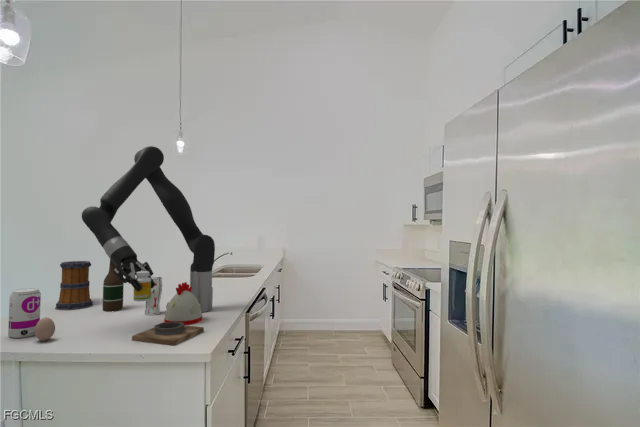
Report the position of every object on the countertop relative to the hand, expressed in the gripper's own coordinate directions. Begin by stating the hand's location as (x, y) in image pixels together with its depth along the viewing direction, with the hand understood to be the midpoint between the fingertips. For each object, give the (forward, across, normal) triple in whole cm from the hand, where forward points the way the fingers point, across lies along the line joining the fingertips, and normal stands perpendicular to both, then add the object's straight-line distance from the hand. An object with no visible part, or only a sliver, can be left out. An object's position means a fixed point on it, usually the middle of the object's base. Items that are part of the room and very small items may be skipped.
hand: (146, 288), depth 126 cm
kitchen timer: (+12, +19, +11) cm, 25 cm away
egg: (-7, -16, +29) cm, 34 cm away
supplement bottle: (+2, 0, +4) cm, 5 cm away
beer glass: (-2, +24, +25) cm, 34 cm away
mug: (-32, +24, +55) cm, 68 cm away
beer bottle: (-17, +24, +40) cm, 49 cm away
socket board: (+17, +1, +5) cm, 18 cm away
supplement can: (-15, -14, +38) cm, 43 cm away
